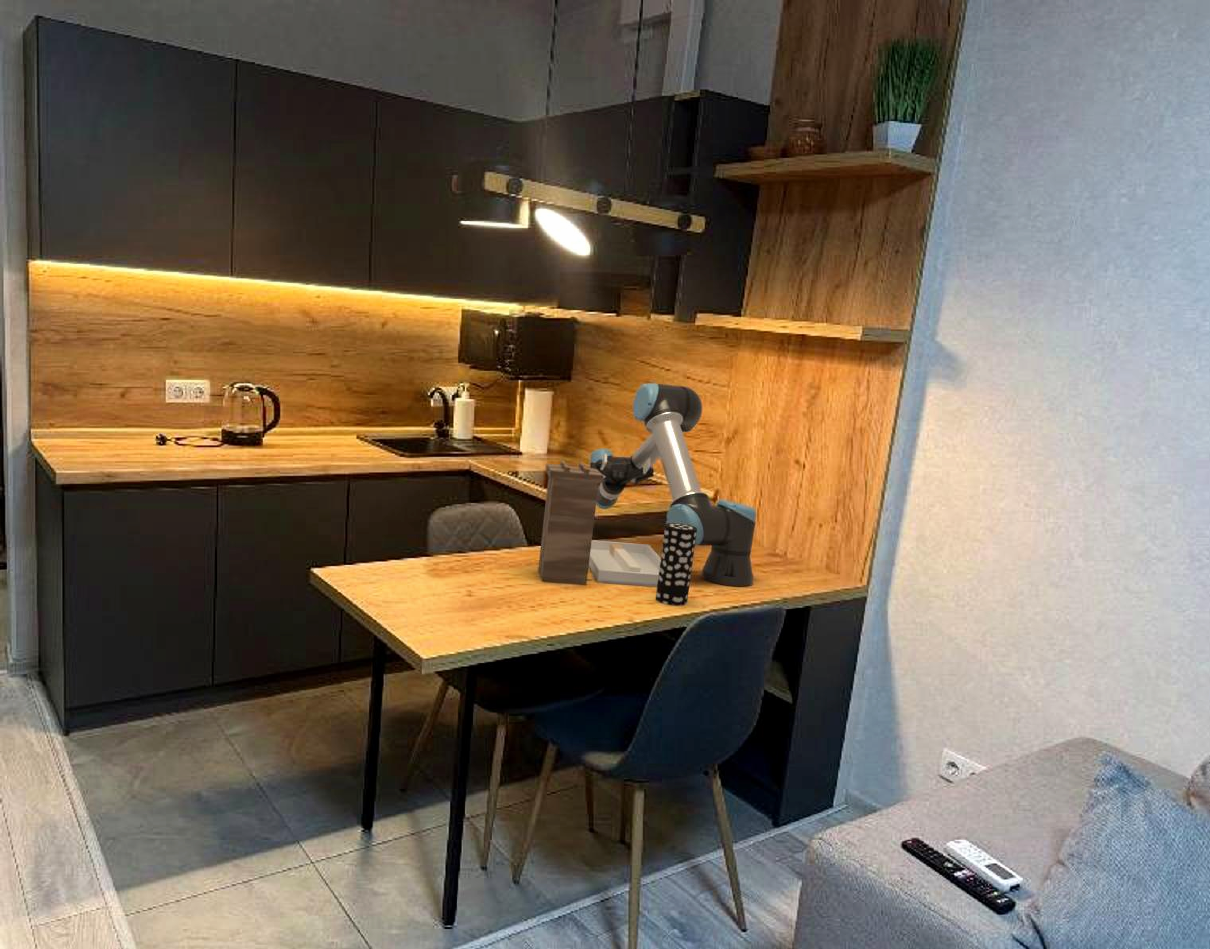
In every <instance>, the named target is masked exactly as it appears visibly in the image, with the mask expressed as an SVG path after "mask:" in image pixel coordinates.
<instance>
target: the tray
mask: <svg viewBox="0 0 1210 949" xmlns="http://www.w3.org/2000/svg"><path fill="white" fill-rule="evenodd" d="M611 544H619V545H621V546H622V547H623V548H624V549H625V551H626V552H627V553H628V554H629V555H630V556H631V557H632V558H633V560H634V561H635V562H636V563H637V564H638V565H639V566H640V567H641V570H640V572H629V571H623V569H622V568H621V567H620V566H619V564H618V563H617V562H616V561H615V559H614V558H613V557H612V556H611V555H610V545H611ZM660 561H661V556H660V555H659V554H657V552H656V551H655V550H654V549H653V548H652V547H651V545H650V544H646V543H643V544H642V543H635V542H634V543H632V542H631V543H630V542H620V541H610V540H596V539H592V542H591V551H590V559H589V567H588V570H590V572H591V574H592V575H593V578H594V579H595V581H596V583H598V584H609V585H610V584H611V585H623V586H636V587H649V588H650V587H651V588H657V584H658V576H659V569H660Z"/></svg>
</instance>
